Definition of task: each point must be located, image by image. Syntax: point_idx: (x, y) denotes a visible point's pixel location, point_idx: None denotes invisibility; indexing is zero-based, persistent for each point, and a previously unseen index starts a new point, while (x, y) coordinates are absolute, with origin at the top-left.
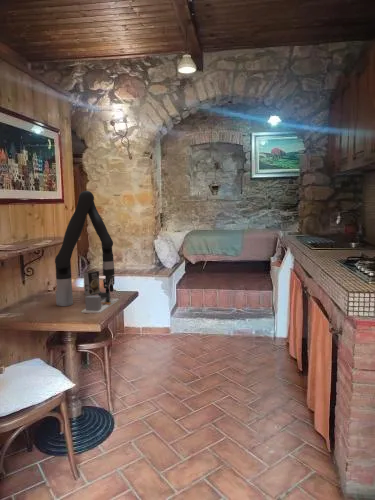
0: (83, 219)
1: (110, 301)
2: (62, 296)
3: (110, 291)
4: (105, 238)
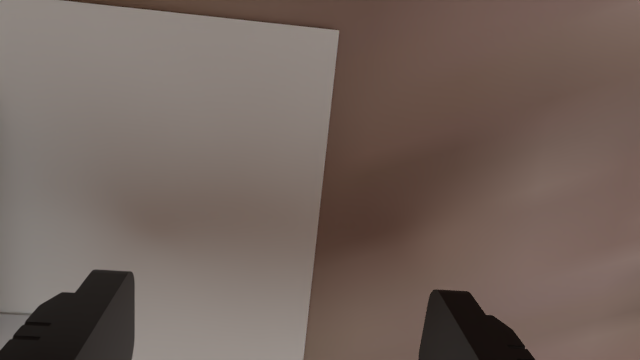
0: None
1: None
2: None
3: (428, 304)
4: None
